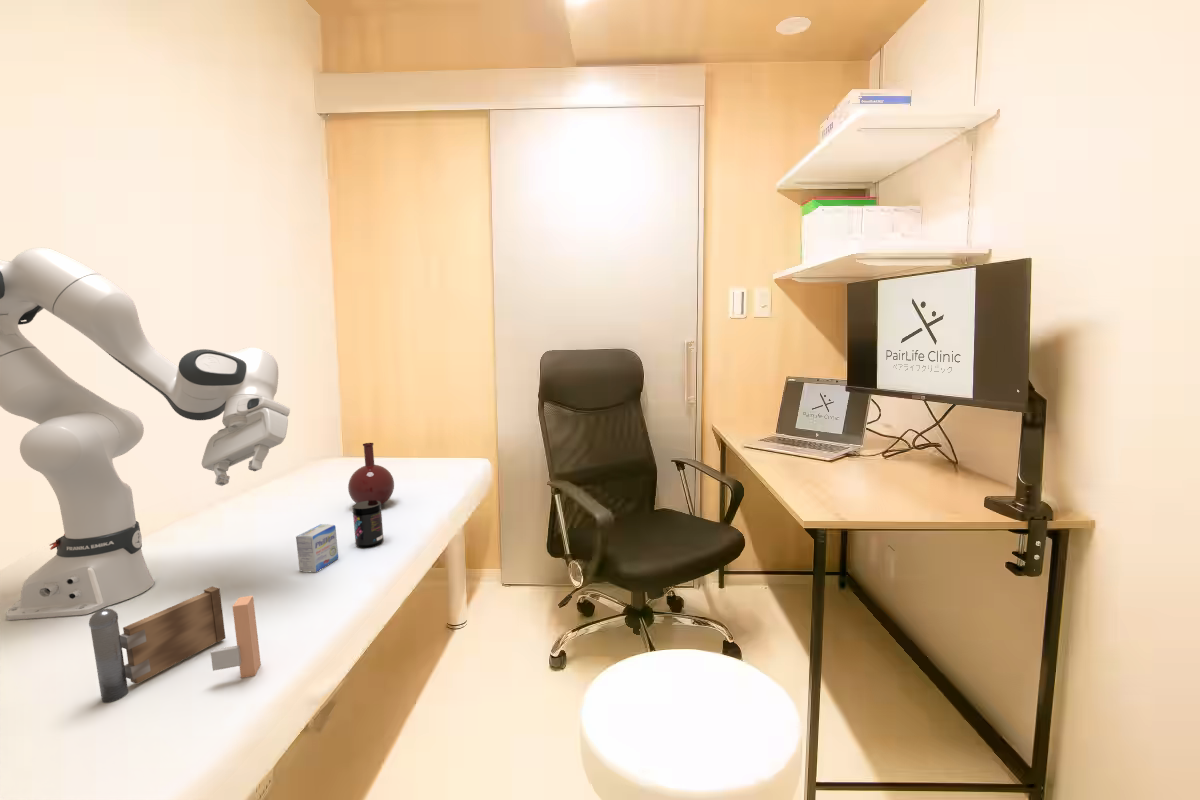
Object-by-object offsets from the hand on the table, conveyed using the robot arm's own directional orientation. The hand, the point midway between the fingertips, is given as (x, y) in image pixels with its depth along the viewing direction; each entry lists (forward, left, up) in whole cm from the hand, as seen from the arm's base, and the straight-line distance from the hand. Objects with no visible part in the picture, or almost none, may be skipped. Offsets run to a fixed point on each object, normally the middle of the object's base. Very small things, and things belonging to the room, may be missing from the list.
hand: (237, 477), depth 108 cm
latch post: (+6, -28, -26) cm, 39 cm away
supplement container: (+20, +23, -26) cm, 40 cm away
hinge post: (-11, -28, -26) cm, 39 cm away
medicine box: (+10, +13, -26) cm, 31 cm away
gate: (-5, -21, -25) cm, 33 cm away
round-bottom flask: (+18, +55, -26) cm, 64 cm away
